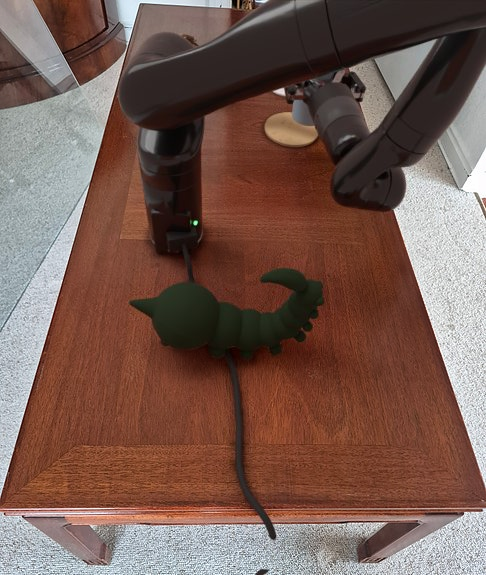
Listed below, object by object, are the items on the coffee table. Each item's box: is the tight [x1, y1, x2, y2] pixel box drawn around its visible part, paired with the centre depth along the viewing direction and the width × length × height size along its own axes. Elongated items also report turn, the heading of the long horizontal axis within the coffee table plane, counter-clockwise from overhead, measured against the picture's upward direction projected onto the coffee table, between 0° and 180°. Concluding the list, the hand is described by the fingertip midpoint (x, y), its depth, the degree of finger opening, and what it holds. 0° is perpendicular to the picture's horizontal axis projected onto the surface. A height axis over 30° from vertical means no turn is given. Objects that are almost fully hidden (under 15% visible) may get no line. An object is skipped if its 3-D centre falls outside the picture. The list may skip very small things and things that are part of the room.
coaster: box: [264, 111, 319, 148], centre depth 102 cm, size 12×12×1 cm
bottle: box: [291, 73, 334, 126], centre depth 84 cm, size 6×6×17 cm
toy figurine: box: [128, 267, 326, 361], centre depth 62 cm, size 9×19×25 cm
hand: (313, 65), depth 85 cm, fingers closed on bottle, 6 cm apart
